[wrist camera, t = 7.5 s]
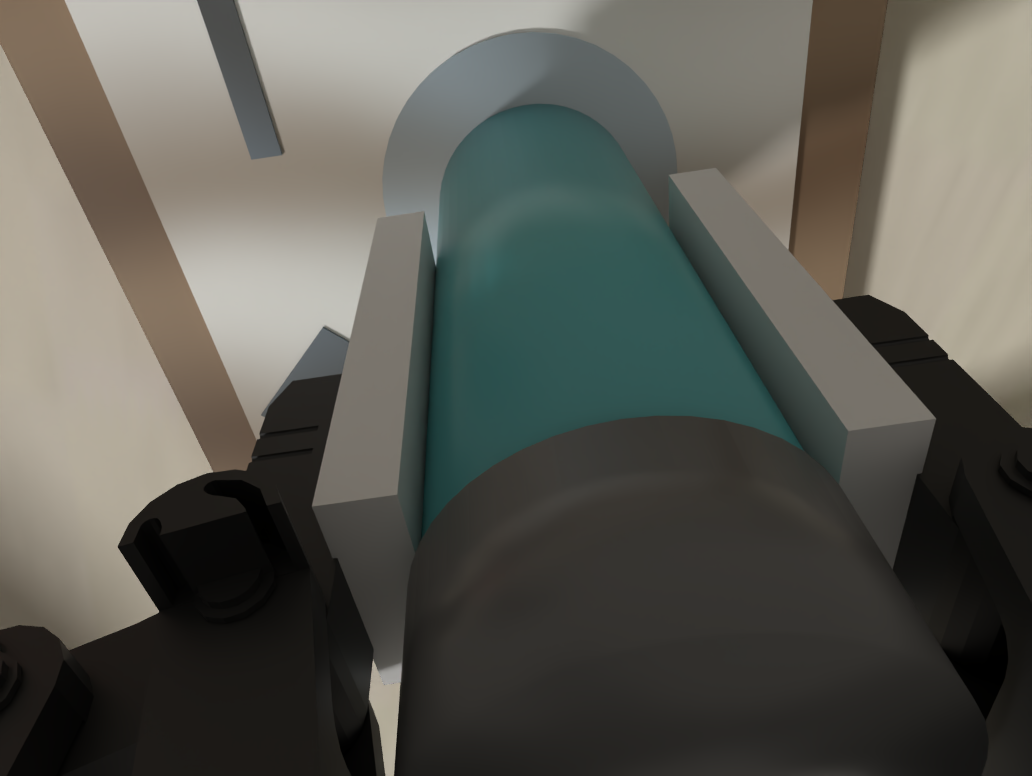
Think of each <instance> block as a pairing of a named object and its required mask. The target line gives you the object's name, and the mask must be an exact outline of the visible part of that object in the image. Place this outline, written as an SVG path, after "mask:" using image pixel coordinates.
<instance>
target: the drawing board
mask: <svg viewBox="0 0 1032 776" xmlns="http://www.w3.org/2000/svg"><path fill="white" fill-rule="evenodd" d="M887 2H888V0H0V44H1V46H2V48H3V50H4V52H5V54H6V56H7V58H8V60H9V62H10V64H11V66H12V68H13V70H14V72H15V74H16V76H17V78H18V80H19V82H20V84H21V86H22V88H23V90H24V92H25V94H26V96H27V98H28V100H29V102H30V104H31V106H32V108H33V110H34V112H35V114H36V116H37V118H38V120H39V122H40V124H41V126H42V128H43V130H44V132H45V134H46V136H47V138H48V140H49V142H50V144H51V146H52V148H53V150H54V152H55V154H56V156H57V158H58V160H59V162H60V164H61V166H62V168H63V170H64V172H65V174H66V176H67V178H68V180H69V182H70V184H71V186H72V188H73V190H74V192H75V194H76V196H77V198H78V200H79V202H80V204H81V206H82V209H83V211H84V213H85V215H86V217H87V219H88V221H89V223H90V225H91V227H92V229H93V231H94V233H95V235H96V237H97V239H98V241H99V243H100V245H101V247H102V249H103V251H104V253H105V255H106V257H107V259H108V261H109V263H110V265H111V267H112V269H113V271H114V273H115V275H116V277H117V279H118V281H119V283H120V285H121V287H122V289H123V291H124V293H125V295H126V297H127V299H128V301H129V303H130V305H131V307H132V309H133V311H134V313H135V315H136V317H137V319H138V321H139V323H140V325H141V327H142V329H143V331H144V333H145V335H146V337H147V339H148V341H149V343H150V345H151V347H152V349H153V351H154V353H155V355H156V357H157V359H158V361H159V363H160V365H161V367H162V369H163V371H164V373H165V375H166V377H167V379H168V381H169V383H170V385H171V387H172V389H173V391H174V393H175V395H176V397H177V399H178V401H179V403H180V405H181V407H182V409H183V411H184V413H185V415H186V417H187V419H188V421H189V423H190V425H191V427H192V429H193V431H194V433H195V435H196V438H197V440H198V442H199V444H200V446H201V448H202V450H203V452H204V454H205V456H206V458H207V460H208V462H209V464H210V466H211V468H212V470H213V472H220V471H227V470H234V469H237V470H243V471H246V470H247V467H248V464H249V463H250V462H252V458H251V456H252V453H253V450H254V447H255V444H256V441H257V439H260V435H259V433H260V430H261V427H262V424H263V422H264V419H265V416H266V413H267V410H268V407H269V406H270V405H271V404H272V402H273V401H274V400H275V399H276V398H277V397H278V396H279V395H280V394H281V393H282V392H283V391H284V389H285V388H286V387H287V386H288V385H289V384H290V383H291V382H292V381H295V380H302V379H309V378H316V377H322V376H329V375H336V374H342V372H343V368H344V363H345V359H346V354H347V350H348V346H349V341H350V337H351V333H352V328H353V324H354V319H355V315H356V311H357V306H358V302H359V298H360V293H361V289H362V284H363V280H364V276H365V271H366V267H367V262H368V258H369V254H370V249H371V245H372V241H373V236H374V232H375V227H376V223H377V219H378V218H381V217H388V216H395V215H401V214H408V213H415V212H421V211H424V213H425V217H426V222H427V227H428V231H429V236H430V241H431V246H432V250H433V255H434V260H435V265H436V256H437V238H438V219H439V201H440V190H441V183H442V179H443V176H444V172H445V169H446V167H447V165H448V162H449V160H450V158H451V156H452V155H453V153H454V151H455V150H456V148H457V147H458V145H459V144H460V143H461V142H462V140H463V139H464V138H465V137H466V136H467V135H468V134H469V133H470V132H471V131H472V130H473V129H474V128H475V127H477V126H478V125H479V124H481V123H482V122H483V121H485V120H486V119H488V118H490V117H492V116H494V115H496V114H497V113H499V112H502V111H505V110H507V109H510V108H514V107H518V106H522V105H529V104H554V105H559V106H564V107H568V108H571V109H574V110H577V111H579V112H581V113H583V114H585V115H587V116H589V117H591V118H592V119H594V120H595V121H597V122H598V123H599V124H601V125H602V126H603V127H604V128H605V129H606V130H607V131H608V132H609V133H610V134H611V135H612V136H613V137H614V139H615V140H616V141H617V142H618V144H619V145H620V147H621V149H622V150H623V152H624V154H625V155H626V157H627V159H628V160H629V162H630V164H631V165H632V167H633V169H634V170H635V172H636V173H637V175H638V177H639V178H640V180H641V182H642V183H643V185H644V187H645V188H646V190H647V192H648V193H649V195H650V197H651V198H652V200H653V202H654V203H655V205H656V206H657V208H658V210H659V211H660V213H661V215H662V216H663V218H664V220H665V221H666V223H667V225H668V226H669V175H671V174H677V173H684V172H691V171H698V170H704V169H711V168H717V170H718V171H719V172H720V173H721V174H722V175H723V176H724V178H725V179H726V180H727V181H728V182H729V183H730V184H731V186H732V187H733V188H734V189H735V190H736V191H737V192H738V193H739V195H740V196H741V197H742V198H743V199H744V200H745V201H746V203H747V204H748V205H749V206H750V207H751V208H752V209H753V211H754V212H755V213H756V214H757V215H758V216H759V217H760V219H761V220H762V221H763V222H764V223H765V224H766V225H767V227H768V228H769V229H770V230H771V231H772V232H773V233H774V234H775V236H776V237H777V238H778V239H779V240H780V241H781V242H782V244H783V245H784V246H785V247H786V248H787V249H788V250H789V252H790V253H791V254H792V255H793V256H794V257H795V258H796V260H797V261H798V262H799V263H800V264H801V265H802V266H803V268H804V269H805V270H806V271H807V272H808V273H809V274H810V275H811V277H812V278H813V279H814V280H815V281H816V282H817V283H818V285H819V286H820V287H821V288H822V289H823V290H824V291H825V293H826V294H827V295H828V296H829V297H830V298H831V299H832V300H837V299H843V292H844V285H845V279H846V272H847V266H848V259H849V252H850V246H851V239H852V233H853V226H854V219H855V213H856V206H857V200H858V193H859V187H860V180H861V173H862V167H863V160H864V154H865V147H866V140H867V134H868V127H869V121H870V114H871V107H872V101H873V94H874V88H875V81H876V74H877V68H878V61H879V55H880V48H881V41H882V35H883V28H884V22H885V15H886V8H887Z"/></svg>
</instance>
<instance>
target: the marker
mask: <svg viewBox="0 0 1032 776" xmlns="http://www.w3.org/2000/svg"><path fill="white" fill-rule="evenodd" d="M988 744H989V737H988V732H987V727H986V722H985V718H984V717H983V715H982V713H981V711H980V709H979V707H978V705H977V703H976V702H975V700H974V698H973V697H972V695H971V693H970V692H969V690H968V689H967V687H966V686H965V684H964V682H963V681H962V679H961V678H960V676H959V674H958V673H957V671H956V670H955V668H954V666H953V665H952V663H951V662H950V660H949V658H948V657H947V655H946V654H945V652H944V651H943V649H942V647H941V646H940V644H939V643H938V641H937V639H936V638H935V636H934V635H933V633H932V631H931V630H930V628H929V627H928V625H927V624H926V622H925V620H924V619H923V617H922V616H921V614H920V612H919V611H918V609H917V608H916V606H915V604H914V603H913V601H912V600H911V598H910V596H909V595H908V593H907V592H906V590H905V589H904V587H903V585H902V584H901V582H900V581H899V579H898V577H897V576H896V574H895V573H894V571H893V569H892V568H891V566H890V565H889V563H888V562H887V560H886V558H885V557H884V555H883V554H882V552H881V550H880V549H879V547H878V546H877V544H876V542H875V541H874V539H873V538H872V536H871V534H870V533H869V531H868V530H867V528H866V527H865V525H864V523H863V522H862V520H861V519H860V517H859V515H858V514H857V512H856V511H855V509H854V507H853V506H852V504H851V503H850V501H849V499H848V498H847V496H846V495H845V493H844V492H843V490H842V488H841V487H840V485H839V484H838V483H837V482H836V480H835V479H834V478H833V477H832V476H831V475H830V473H829V472H828V471H827V470H826V469H825V468H824V467H823V466H822V465H821V464H820V463H818V462H817V461H816V460H815V459H813V458H812V457H811V456H810V455H809V454H807V453H806V452H805V451H804V449H803V448H802V446H801V444H800V443H799V441H798V439H797V438H796V436H795V434H794V433H793V431H792V429H791V428H790V426H789V425H788V423H787V421H786V420H785V418H784V416H783V415H782V413H781V411H780V410H779V408H778V406H777V405H776V403H775V401H774V400H773V398H772V396H771V395H770V393H769V391H768V390H767V388H766V387H765V385H764V383H763V382H762V380H761V378H760V377H759V375H758V373H757V372H756V370H755V368H754V367H753V365H752V363H751V362H750V360H749V358H748V357H747V355H746V353H745V352H744V350H743V349H742V347H741V345H740V344H739V342H738V340H737V339H736V337H735V335H734V334H733V332H732V330H731V329H730V327H729V325H728V324H727V322H726V320H725V319H724V317H723V316H722V314H721V312H720V311H719V309H718V307H717V306H716V304H715V302H714V301H713V299H712V297H711V296H710V294H709V292H708V291H707V289H706V287H705V286H704V284H703V282H702V281H701V279H700V278H699V276H698V274H697V273H696V271H695V269H694V268H693V266H692V264H691V263H690V261H689V259H688V258H687V256H686V254H685V253H684V251H683V249H682V248H681V246H680V244H679V243H678V241H677V240H676V238H675V236H674V235H673V233H672V231H671V230H670V228H669V226H668V225H667V223H666V221H665V220H664V218H663V216H662V215H661V213H660V211H659V210H658V208H657V206H656V205H655V203H654V202H653V200H652V198H651V197H650V195H649V193H648V192H647V190H646V188H645V187H644V185H643V183H642V182H641V180H640V178H639V177H638V175H637V173H636V172H635V170H634V169H633V167H632V165H631V164H630V162H629V160H628V159H627V157H626V155H625V154H624V152H623V150H622V149H621V147H620V145H619V144H618V142H617V141H616V140H615V139H614V137H613V136H612V135H611V134H610V133H609V132H608V131H607V130H606V129H605V128H604V127H603V126H602V125H601V124H599V123H598V122H597V121H595V120H594V119H592V118H591V117H589V116H587V115H585V114H583V113H581V112H579V111H577V110H574V109H571V108H568V107H564V106H559V105H554V104H529V105H522V106H518V107H514V108H510V109H507V110H505V111H502V112H499V113H497V114H496V115H494V116H492V117H490V118H488V119H486V120H485V121H483V122H482V123H481V124H479V125H478V126H477V127H475V128H474V129H473V130H472V131H471V132H470V133H469V134H468V135H467V136H466V137H465V138H464V139H463V140H462V142H461V143H460V144H459V145H458V147H457V148H456V150H455V151H454V153H453V155H452V156H451V158H450V160H449V162H448V165H447V167H446V169H445V172H444V176H443V179H442V183H441V190H440V201H439V219H438V238H437V256H436V275H435V293H434V311H433V330H432V348H431V367H430V385H429V403H428V422H427V440H426V459H425V477H424V495H423V514H422V532H421V541H420V543H419V545H418V548H417V550H416V553H415V556H414V559H413V561H412V564H411V568H410V574H409V580H408V586H407V599H406V614H405V628H404V642H403V656H402V671H401V685H400V699H399V714H398V728H397V742H396V756H395V771H394V776H982V773H983V770H984V767H985V764H986V761H987V757H988Z"/></svg>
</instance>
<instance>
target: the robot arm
mask: <svg viewBox="0 0 1032 776" xmlns="http://www.w3.org/2000/svg"><path fill="white" fill-rule="evenodd" d="M669 228H670V230H671V231H672V233H673V235H674V236H675V238H676V240H677V241H678V243H679V244H680V246H681V248H682V249H683V251H684V253H685V254H686V256H687V258H688V259H689V261H690V263H691V264H692V266H693V268H694V269H695V271H696V273H697V274H698V276H699V278H700V279H701V281H702V282H703V284H704V286H705V287H706V289H707V291H708V292H709V294H710V296H711V297H712V299H713V301H714V302H715V304H716V306H717V307H718V309H719V311H720V312H721V314H722V316H723V317H724V319H725V320H726V322H727V324H728V325H729V327H730V329H731V330H732V332H733V334H734V335H735V337H736V339H737V340H738V342H739V344H740V345H741V347H742V349H743V350H744V352H745V353H746V355H747V357H748V358H749V360H750V362H751V363H752V365H753V367H754V368H755V370H756V372H757V373H758V375H759V377H760V378H761V380H762V382H763V383H764V385H765V387H766V388H767V390H768V391H769V393H770V395H771V396H772V398H773V400H774V401H775V403H776V405H777V406H778V408H779V410H780V411H781V413H782V415H783V416H784V418H785V420H786V421H787V423H788V425H789V426H790V428H791V429H792V431H793V433H794V434H795V436H796V438H797V439H798V441H799V443H800V444H801V446H802V448H803V449H804V451H805V452H806V453H807V454H809V455H810V456H811V457H812V458H813V459H815V460H816V461H817V462H818V463H820V464H821V465H822V466H823V467H824V468H825V469H826V470H827V471H828V472H829V473H830V475H831V476H832V477H833V478H834V479H835V480H836V482H837V483H838V484H839V485H840V487H841V488H842V490H843V492H844V493H845V495H846V496H847V498H848V499H849V501H850V503H851V504H852V506H853V507H854V509H855V511H856V512H857V514H858V515H859V517H860V519H861V520H862V522H863V523H864V525H865V527H866V528H867V530H868V531H869V533H870V534H871V536H872V538H873V539H874V541H875V542H876V544H877V546H878V547H879V549H880V550H881V552H882V554H883V555H884V557H885V558H886V560H887V562H888V563H889V565H890V566H891V568H892V569H893V571H894V573H895V574H896V576H897V577H898V579H899V581H900V582H901V584H902V585H903V587H904V589H905V590H906V592H907V593H908V595H909V596H910V598H911V600H912V601H913V603H914V604H915V606H916V608H917V609H918V611H919V612H920V614H921V616H922V617H923V619H924V620H925V622H926V624H927V625H928V627H929V628H930V630H931V631H932V633H933V635H934V636H935V638H936V639H937V641H938V643H939V644H940V646H941V647H942V649H943V651H944V652H945V654H946V655H947V657H948V658H949V660H950V662H951V663H952V665H953V666H954V668H955V670H956V671H957V673H958V674H959V676H960V678H961V679H962V681H963V682H964V684H965V686H966V687H967V689H968V690H969V692H970V693H971V695H972V697H973V698H974V700H975V702H976V703H977V705H978V707H979V709H980V711H981V713H982V715H983V717H984V718H985V722H986V727H987V732H988V737H989V744H988V757H987V761H986V764H985V767H984V770H983V773H982V776H1032V428H1023V427H1021V426H1020V425H1019V424H1018V423H1017V422H1016V421H1015V420H1014V419H1013V418H1012V417H1011V416H1010V415H1009V414H1008V413H1007V412H1006V411H1005V410H1004V409H1003V408H1002V407H1001V406H1000V405H999V404H998V403H997V402H996V401H995V400H994V399H993V398H992V397H991V396H990V395H989V394H988V393H987V392H986V391H985V390H984V389H983V388H982V387H981V386H980V385H979V384H978V383H977V382H975V381H974V380H973V379H972V378H971V377H970V376H969V375H968V374H967V373H966V372H965V371H964V370H963V369H962V368H961V367H960V366H959V365H958V364H957V363H956V362H955V361H954V360H949V359H948V354H947V353H946V352H945V351H944V350H943V349H942V348H941V347H940V346H939V345H938V344H937V343H936V342H935V341H934V340H929V339H928V334H927V333H926V332H925V331H924V330H922V329H921V328H920V327H919V326H918V325H917V324H916V323H915V322H914V321H913V320H912V319H911V318H910V317H909V316H908V315H907V314H906V313H905V312H903V311H901V310H899V309H897V308H895V307H893V306H891V305H889V304H887V303H885V302H883V301H881V300H878V299H876V298H874V297H872V296H870V295H864V296H858V297H851V298H844V299H837V300H832V299H831V298H830V297H829V296H828V295H827V294H826V293H825V291H824V290H823V289H822V288H821V287H820V286H819V285H818V283H817V282H816V281H815V280H814V279H813V278H812V277H811V275H810V274H809V273H808V272H807V271H806V270H805V269H804V268H803V266H802V265H801V264H800V263H799V262H798V261H797V260H796V258H795V257H794V256H793V255H792V254H791V253H790V252H789V250H788V249H787V248H786V247H785V246H784V245H783V244H782V242H781V241H780V240H779V239H778V238H777V237H776V236H775V234H774V233H773V232H772V231H771V230H770V229H769V228H768V227H767V225H766V224H765V223H764V222H763V221H762V220H761V219H760V217H759V216H758V215H757V214H756V213H755V212H754V211H753V209H752V208H751V207H750V206H749V205H748V204H747V203H746V201H745V200H744V199H743V198H742V197H741V196H740V195H739V193H738V192H737V191H736V190H735V189H734V188H733V187H732V186H731V184H730V183H729V182H728V181H727V180H726V179H725V178H724V176H723V175H722V174H721V173H720V172H719V171H718V170H717V168H711V169H704V170H698V171H691V172H684V173H677V174H671V175H669ZM435 275H436V265H435V260H434V255H433V250H432V246H431V241H430V236H429V231H428V227H427V222H426V217H425V213H424V211H421V212H415V213H408V214H401V215H395V216H388V217H381V218H378V219H377V223H376V227H375V232H374V236H373V241H372V245H371V249H370V254H369V258H368V262H367V267H366V271H365V276H364V280H363V284H362V289H361V293H360V298H359V302H358V306H357V311H356V315H355V319H354V324H353V328H352V333H351V337H350V341H349V346H348V350H347V354H346V359H345V363H344V368H343V372H342V374H336V375H329V376H322V377H316V378H309V379H302V380H295V381H292V382H291V383H290V384H289V385H288V386H287V387H286V388H285V389H284V391H283V392H282V393H281V394H280V395H279V396H278V397H277V398H276V399H275V400H274V401H273V402H272V404H271V405H270V406H269V407H268V410H267V413H266V416H265V419H264V422H263V424H262V427H261V430H260V433H259V435H260V439H257V441H256V444H255V447H254V450H253V453H252V456H251V458H252V462H250V463H249V464H248V467H247V470H246V471H243V470H237V469H234V470H227V471H220V472H213V473H207V474H204V475H201V476H199V477H196V478H194V479H191V480H188V481H186V482H183V483H181V484H178V485H176V486H175V487H173V488H171V489H170V490H168V491H167V492H165V493H164V494H162V495H161V496H159V497H157V498H156V499H154V500H153V501H151V502H150V503H149V504H148V505H147V506H146V507H145V508H144V509H143V510H142V511H141V512H140V513H139V514H138V515H137V516H136V517H135V518H134V519H133V520H132V521H131V522H130V523H129V525H128V527H127V529H126V531H125V533H124V535H123V537H122V539H121V541H120V543H119V545H118V548H119V550H120V551H121V553H122V554H123V556H124V558H125V559H126V561H127V562H128V564H129V565H130V567H131V568H132V570H133V571H134V573H135V575H136V576H137V578H138V579H139V581H140V582H141V584H142V585H143V587H144V588H145V590H146V591H147V593H148V595H149V596H150V598H151V599H152V601H153V602H154V604H155V605H156V607H157V608H158V610H159V613H158V614H156V615H154V616H151V617H149V618H147V619H145V620H143V621H141V622H139V623H137V624H135V625H132V626H130V627H127V628H125V629H122V630H120V631H117V632H115V633H112V634H109V635H107V636H104V637H102V638H99V639H97V640H94V641H92V642H89V643H87V644H84V645H82V646H79V647H77V648H74V649H72V650H68V649H67V648H66V646H65V645H64V644H63V643H62V641H61V640H60V639H59V638H58V637H56V636H55V635H54V634H52V633H51V632H50V631H48V630H47V629H46V628H44V627H34V626H21V625H19V626H15V627H11V628H7V629H3V630H0V776H385V770H384V762H383V754H382V746H381V738H380V730H379V725H378V722H377V719H376V716H375V714H374V711H373V708H372V706H371V703H370V701H369V690H370V680H371V671H372V662H373V659H374V662H375V664H376V667H377V669H378V672H379V674H380V677H381V679H382V682H383V684H384V685H387V684H394V683H401V671H402V656H403V642H404V628H405V614H406V599H407V586H408V580H409V574H410V568H411V564H412V561H413V559H414V556H415V553H416V550H417V548H418V545H419V543H420V541H421V532H422V514H423V495H424V477H425V459H426V440H427V422H428V403H429V385H430V367H431V348H432V330H433V311H434V293H435Z"/></svg>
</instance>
